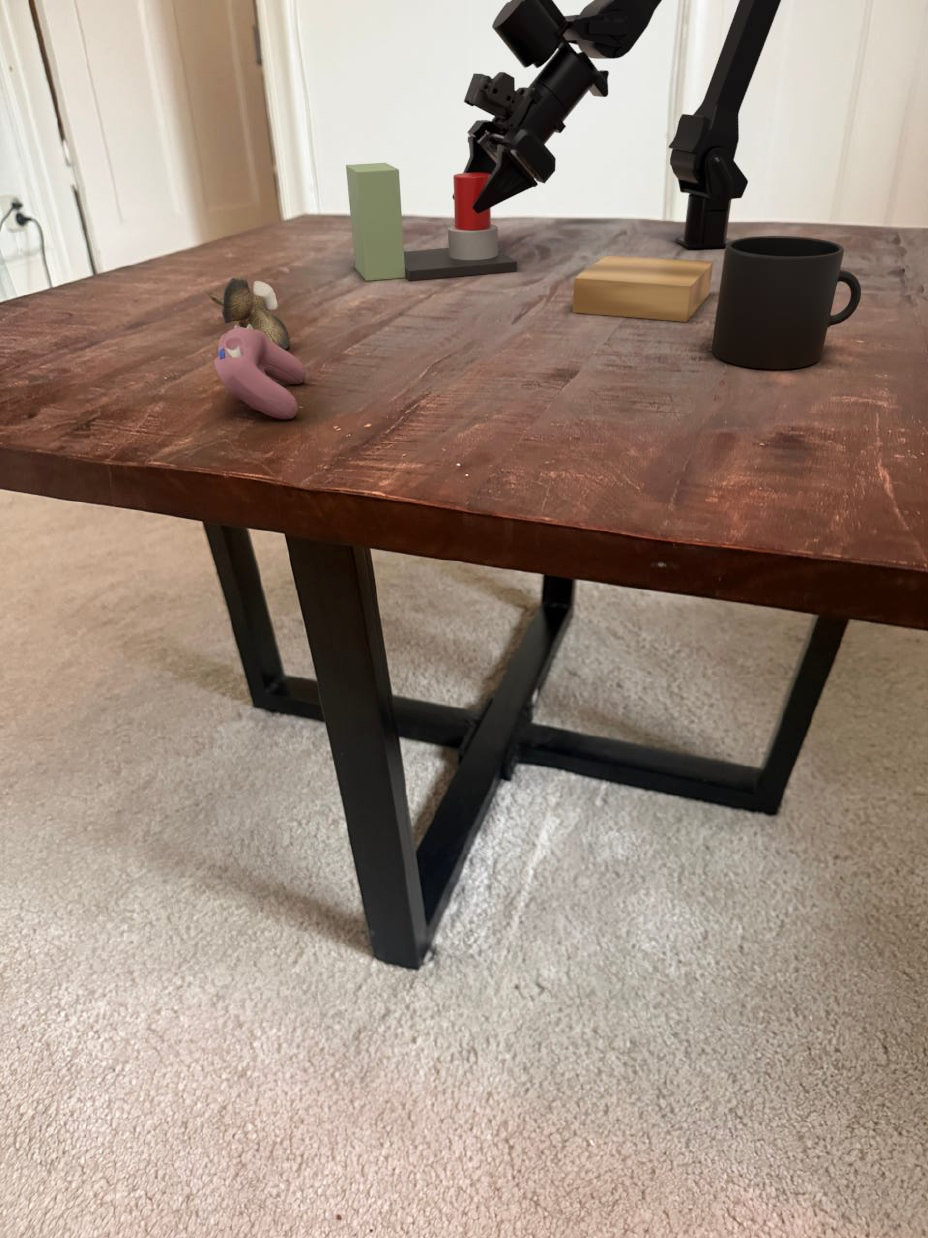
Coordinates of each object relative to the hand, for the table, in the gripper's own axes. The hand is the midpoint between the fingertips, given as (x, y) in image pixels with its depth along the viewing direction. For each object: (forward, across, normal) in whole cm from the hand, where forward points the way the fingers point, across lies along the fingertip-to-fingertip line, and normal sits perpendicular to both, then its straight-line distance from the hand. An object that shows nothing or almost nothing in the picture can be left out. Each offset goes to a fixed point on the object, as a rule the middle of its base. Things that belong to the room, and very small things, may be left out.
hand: (464, 205), depth 106 cm
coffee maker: (+8, 0, +2) cm, 8 cm away
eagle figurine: (+26, +27, -15) cm, 40 cm away
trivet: (-4, +26, +14) cm, 30 cm away
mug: (-6, +47, +16) cm, 50 cm away
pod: (+1, 0, +3) cm, 3 cm away
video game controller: (+26, +44, -16) cm, 54 cm away
